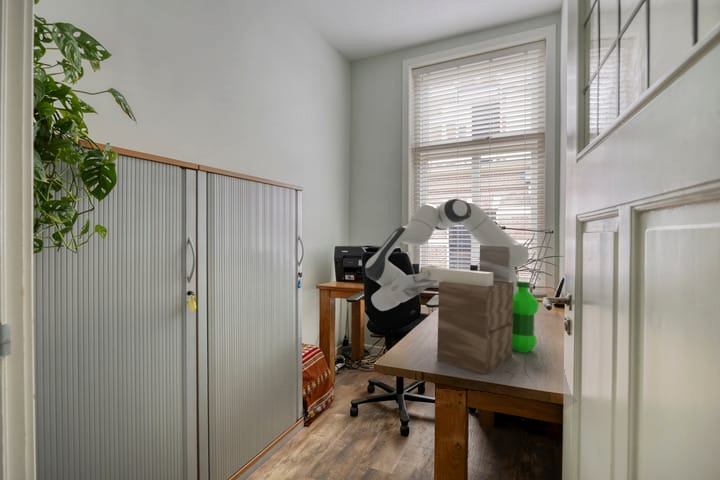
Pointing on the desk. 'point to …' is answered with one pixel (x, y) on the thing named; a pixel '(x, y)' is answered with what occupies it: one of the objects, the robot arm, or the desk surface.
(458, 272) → the white rectangular bar
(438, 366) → the desk surface
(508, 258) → the wood grain block
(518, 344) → the plastic bottle
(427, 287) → the robot arm
